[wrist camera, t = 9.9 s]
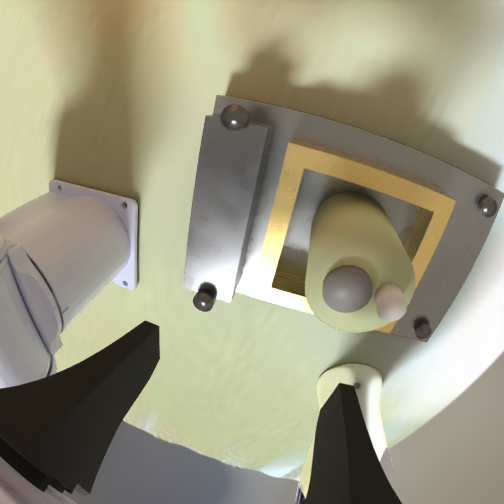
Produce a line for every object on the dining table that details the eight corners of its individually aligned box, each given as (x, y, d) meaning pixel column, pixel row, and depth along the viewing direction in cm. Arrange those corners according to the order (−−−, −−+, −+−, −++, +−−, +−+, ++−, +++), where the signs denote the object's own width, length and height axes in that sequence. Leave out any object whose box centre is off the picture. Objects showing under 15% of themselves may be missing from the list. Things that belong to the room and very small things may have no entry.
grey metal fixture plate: (197, 266, 22) (171, 303, 18) (224, 95, 16) (194, 93, 12) (422, 329, 20) (435, 372, 16) (494, 187, 14) (530, 212, 10)
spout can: (304, 257, 18) (292, 337, 12) (319, 183, 16) (317, 236, 10) (376, 272, 18) (394, 354, 11) (398, 202, 15) (439, 263, 9)
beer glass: (379, 350, 22) (387, 531, 9) (391, 395, 24) (395, 541, 11) (300, 369, 25) (269, 535, 12) (324, 410, 27) (306, 547, 14)
